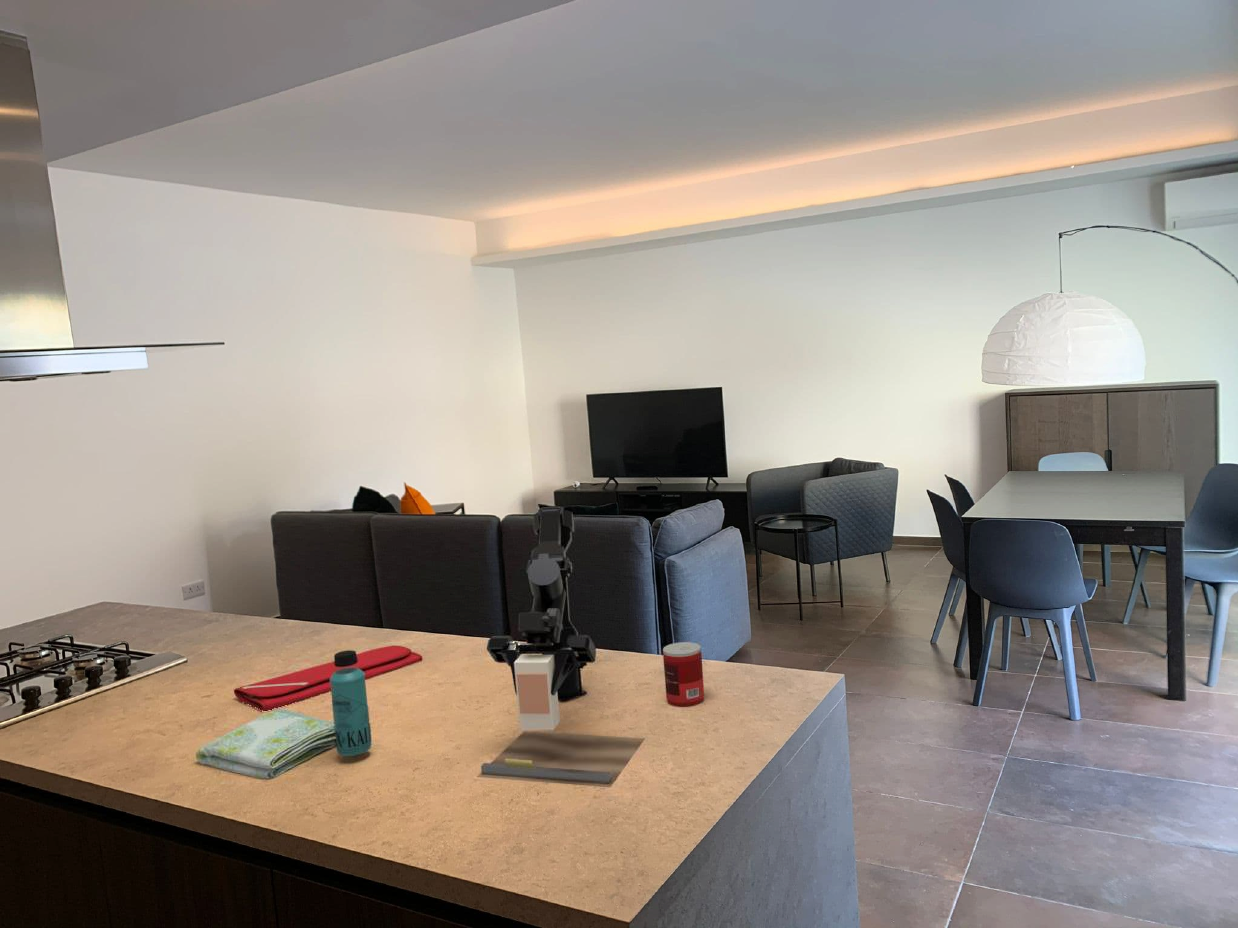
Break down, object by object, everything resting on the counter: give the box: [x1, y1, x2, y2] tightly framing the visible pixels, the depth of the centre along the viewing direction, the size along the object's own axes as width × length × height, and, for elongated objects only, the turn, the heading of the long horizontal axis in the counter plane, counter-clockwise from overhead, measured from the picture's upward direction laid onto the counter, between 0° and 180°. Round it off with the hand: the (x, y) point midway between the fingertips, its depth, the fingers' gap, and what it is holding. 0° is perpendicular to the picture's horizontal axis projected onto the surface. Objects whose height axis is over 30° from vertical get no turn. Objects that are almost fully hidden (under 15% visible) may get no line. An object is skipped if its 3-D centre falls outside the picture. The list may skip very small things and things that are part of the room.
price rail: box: [480, 759, 612, 784], centre depth 150 cm, size 2×23×2 cm, turn 72°
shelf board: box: [476, 730, 646, 788], centre depth 157 cm, size 20×24×1 cm
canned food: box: [662, 641, 705, 708], centre depth 183 cm, size 8×8×11 cm
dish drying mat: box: [233, 645, 423, 712], centre depth 214 cm, size 16×41×4 cm, turn 137°
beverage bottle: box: [330, 650, 373, 757], centre depth 166 cm, size 6×7×20 cm
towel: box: [195, 708, 336, 780], centre depth 172 cm, size 18×21×5 cm
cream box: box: [514, 654, 561, 731], centre depth 156 cm, size 4×6×12 cm
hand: (534, 694), depth 154 cm, fingers closed on cream box, 6 cm apart
